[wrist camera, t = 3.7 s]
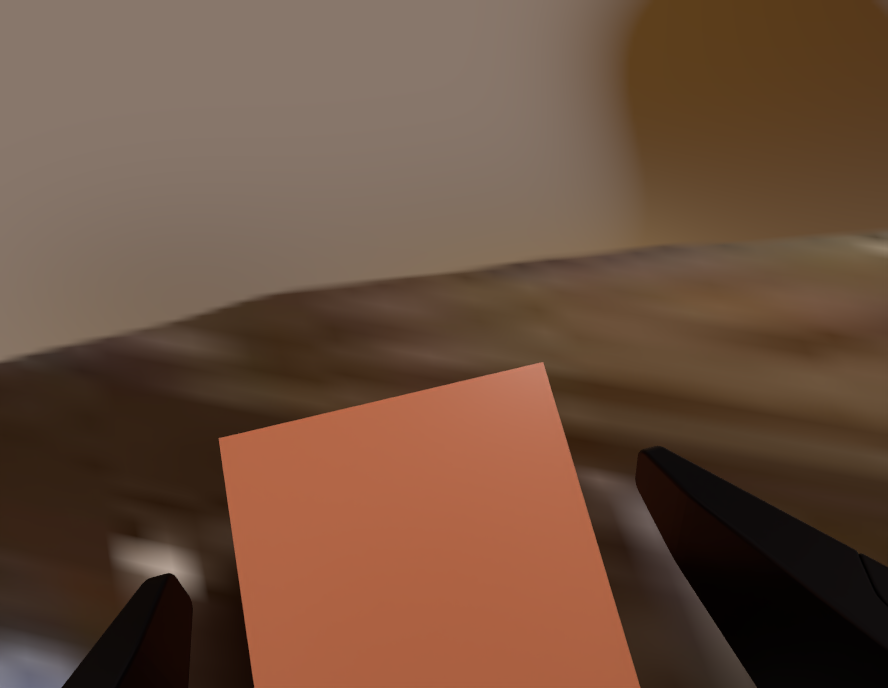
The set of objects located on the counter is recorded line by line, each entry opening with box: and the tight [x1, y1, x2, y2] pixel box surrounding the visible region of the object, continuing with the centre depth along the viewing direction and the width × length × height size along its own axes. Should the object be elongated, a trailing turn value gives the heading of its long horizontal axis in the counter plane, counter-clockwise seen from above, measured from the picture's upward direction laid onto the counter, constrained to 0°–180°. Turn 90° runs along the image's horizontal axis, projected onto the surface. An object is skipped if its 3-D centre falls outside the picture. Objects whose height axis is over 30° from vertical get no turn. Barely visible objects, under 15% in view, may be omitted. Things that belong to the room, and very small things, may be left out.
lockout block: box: [219, 362, 640, 688], centre depth 12 cm, size 5×5×10 cm
